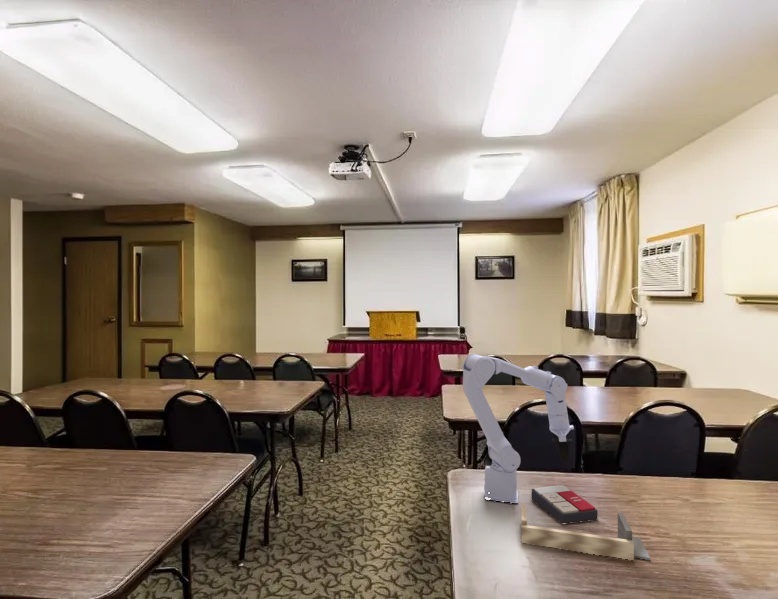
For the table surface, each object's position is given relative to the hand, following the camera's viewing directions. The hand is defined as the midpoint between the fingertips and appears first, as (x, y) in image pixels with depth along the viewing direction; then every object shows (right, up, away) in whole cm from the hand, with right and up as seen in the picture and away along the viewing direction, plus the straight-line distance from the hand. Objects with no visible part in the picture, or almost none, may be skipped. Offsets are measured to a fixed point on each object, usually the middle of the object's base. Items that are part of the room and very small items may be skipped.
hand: (564, 456), depth 131 cm
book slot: (-7, -11, -28) cm, 31 cm away
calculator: (-5, -12, -11) cm, 17 cm away
